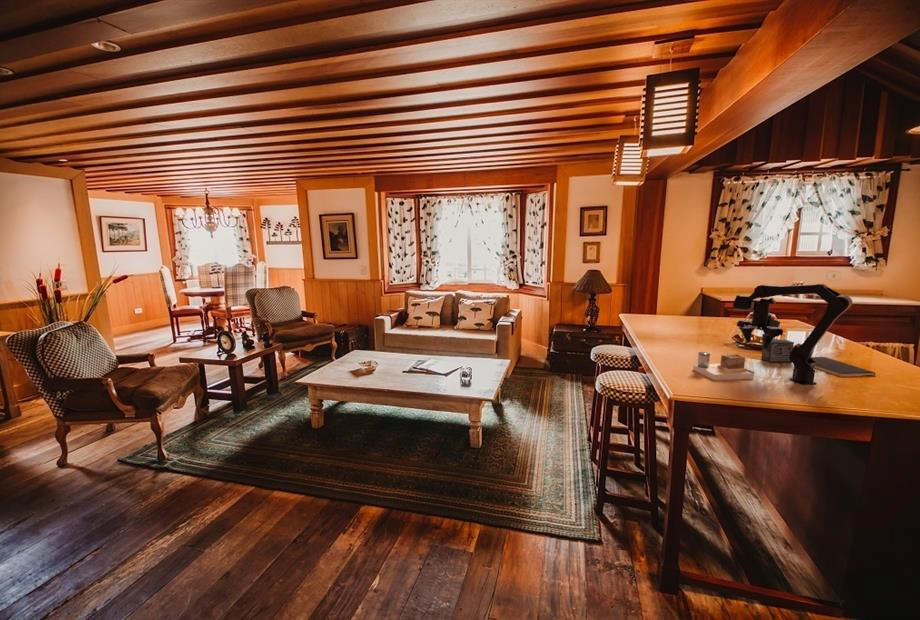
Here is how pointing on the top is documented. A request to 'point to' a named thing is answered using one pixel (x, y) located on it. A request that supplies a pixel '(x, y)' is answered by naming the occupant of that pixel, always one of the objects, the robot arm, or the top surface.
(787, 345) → the small box
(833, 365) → the hardcover book
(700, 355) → the canister
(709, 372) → the dock
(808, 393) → the top surface
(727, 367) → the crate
